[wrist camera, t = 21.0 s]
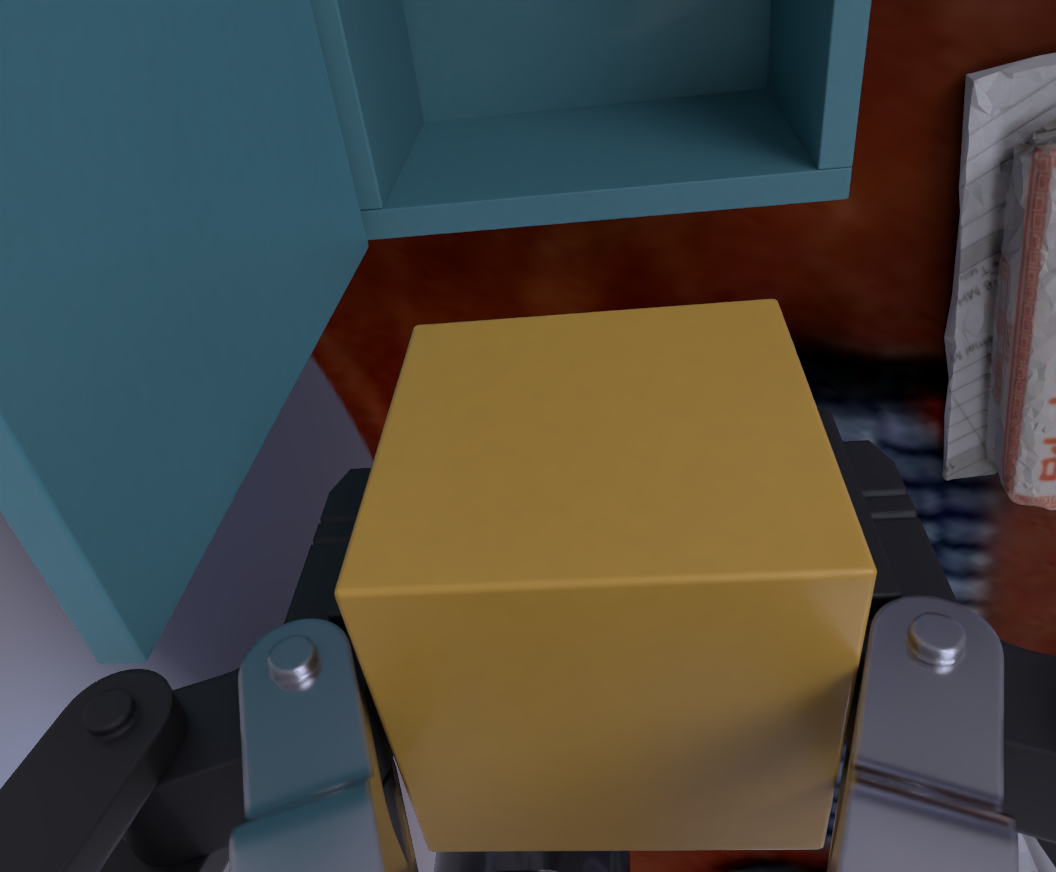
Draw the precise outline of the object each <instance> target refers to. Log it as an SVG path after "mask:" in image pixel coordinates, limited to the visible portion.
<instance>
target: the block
mask: <svg viewBox="0 0 1056 872" xmlns="http://www.w3.org/2000/svg"><path fill="white" fill-rule="evenodd" d="M876 575H877V569H876V567H875V564H874V561H873V559H872V556H871V553H870V550H869V548H868V545H867V542H866V540H865V537H864V534H863V531H862V529H861V526H860V523H859V521H858V518H857V515H856V513H855V510H854V507H853V504H852V502H851V499H850V496H849V494H848V491H847V488H846V485H845V483H844V480H843V477H842V475H841V472H840V469H839V466H838V464H837V461H836V458H835V456H834V453H833V450H832V448H831V445H830V442H829V439H828V437H827V434H826V431H825V429H824V426H823V423H822V420H821V418H820V415H819V412H818V410H817V407H816V404H815V402H814V399H813V396H812V393H811V391H810V388H809V385H808V383H807V380H806V377H805V374H804V372H803V369H802V366H801V364H800V361H799V358H798V356H797V353H796V350H795V347H794V345H793V342H792V339H791V337H790V334H789V331H788V328H787V326H786V323H785V320H784V318H783V315H782V312H781V310H780V307H779V304H778V302H777V300H775V299H763V300H749V301H736V302H723V303H709V304H696V305H682V306H669V307H656V308H642V309H629V310H615V311H602V312H588V313H575V314H562V315H548V316H535V317H521V318H508V319H494V320H481V321H468V322H454V323H441V324H427V325H418V326H415V327H414V329H413V332H412V335H411V339H410V342H409V345H408V349H407V352H406V355H405V359H404V362H403V365H402V369H401V372H400V375H399V379H398V382H397V385H396V389H395V392H394V395H393V399H392V402H391V405H390V409H389V412H388V415H387V418H386V422H385V425H384V428H383V432H382V435H381V438H380V442H379V445H378V448H377V452H376V455H375V458H374V462H373V465H372V468H371V472H370V475H369V478H368V482H367V485H366V488H365V491H364V495H363V498H362V501H361V505H360V508H359V511H358V515H357V518H356V521H355V525H354V528H353V531H352V535H351V538H350V541H349V545H348V548H347V551H346V555H345V558H344V561H343V565H342V568H341V571H340V574H339V578H338V581H337V584H336V588H335V592H334V594H335V598H336V601H337V604H338V606H339V609H340V612H341V615H342V617H343V620H344V623H345V625H346V628H347V631H348V633H349V636H350V639H351V641H352V644H353V647H354V650H355V652H356V655H357V658H358V660H359V663H360V666H361V668H362V671H363V674H364V677H365V679H366V682H367V685H368V687H369V690H370V693H371V695H372V698H373V701H374V704H375V706H376V709H377V712H378V714H379V717H380V720H381V722H382V725H383V728H384V731H385V733H386V736H387V739H388V741H389V744H390V747H391V749H392V752H393V755H394V757H395V760H396V763H397V766H398V768H399V771H400V774H401V776H402V779H403V782H404V784H405V787H406V790H407V793H408V795H409V798H410V801H411V803H412V806H413V808H414V811H415V814H416V817H417V819H418V822H419V825H420V828H421V830H422V833H423V836H424V838H425V841H426V844H427V846H428V849H429V850H430V851H433V852H472V851H628V850H784V849H820V848H823V846H824V841H825V836H826V831H827V826H828V821H829V816H830V811H831V805H832V800H833V795H834V790H835V785H836V780H837V775H838V770H839V764H840V759H841V754H842V749H843V744H844V739H845V734H846V729H847V724H848V718H849V713H850V708H851V703H852V698H853V693H854V688H855V683H856V677H857V672H858V667H859V662H860V657H861V652H862V647H863V642H864V636H865V631H866V626H867V621H868V616H869V611H870V606H871V601H872V595H873V590H874V585H875V580H876Z"/></svg>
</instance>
